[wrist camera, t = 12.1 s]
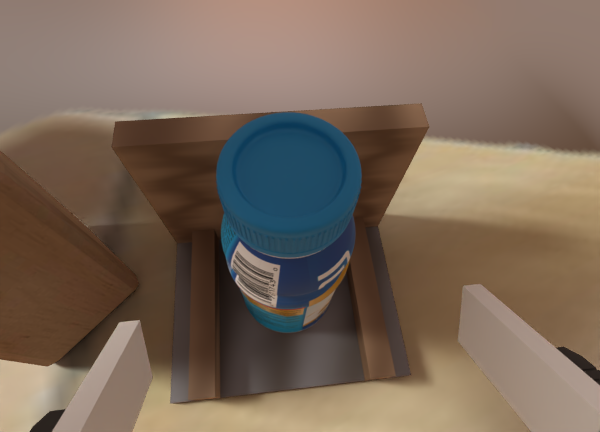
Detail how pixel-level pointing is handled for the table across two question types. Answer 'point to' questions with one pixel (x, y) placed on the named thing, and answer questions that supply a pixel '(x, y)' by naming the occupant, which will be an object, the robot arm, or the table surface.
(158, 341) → the table surface
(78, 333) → the wooden block
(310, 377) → the backstop holder
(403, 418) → the table surface
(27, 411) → the table surface
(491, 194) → the table surface
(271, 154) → the beverage bottle
